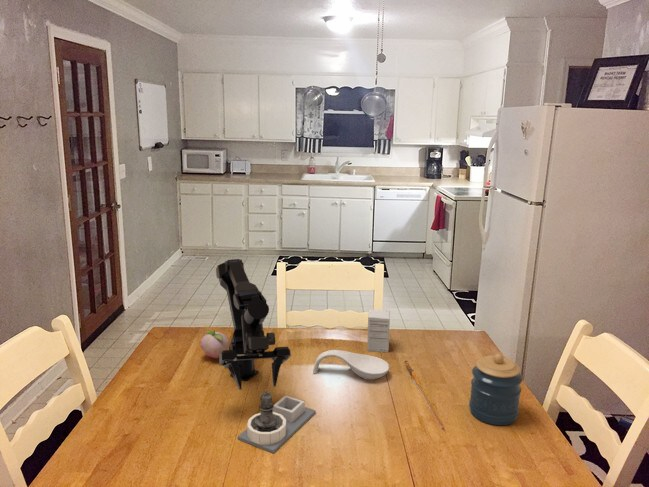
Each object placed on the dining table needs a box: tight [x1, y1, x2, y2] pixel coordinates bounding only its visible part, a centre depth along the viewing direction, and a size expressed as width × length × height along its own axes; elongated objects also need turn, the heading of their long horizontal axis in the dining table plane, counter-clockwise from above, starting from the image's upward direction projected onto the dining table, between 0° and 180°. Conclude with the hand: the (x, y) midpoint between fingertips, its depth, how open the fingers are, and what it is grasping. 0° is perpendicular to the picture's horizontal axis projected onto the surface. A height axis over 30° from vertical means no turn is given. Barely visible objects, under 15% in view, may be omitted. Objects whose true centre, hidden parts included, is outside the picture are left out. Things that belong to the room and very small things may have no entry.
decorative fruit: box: [200, 330, 230, 359], centre depth 173 cm, size 9×8×10 cm
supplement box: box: [366, 309, 391, 353], centre depth 182 cm, size 7×7×13 cm
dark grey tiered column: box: [255, 390, 278, 432], centre depth 132 cm, size 6×6×12 cm
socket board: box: [237, 395, 317, 454], centre depth 138 cm, size 20×11×4 cm, turn 150°
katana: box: [404, 360, 444, 429], centre depth 153 cm, size 1×35×3 cm, turn 7°
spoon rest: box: [312, 349, 390, 380], centre depth 165 cm, size 24×12×7 cm, turn 84°
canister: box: [468, 353, 524, 426], centre depth 143 cm, size 13×13×18 cm
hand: (257, 387), depth 140 cm, fingers open, 9 cm apart
